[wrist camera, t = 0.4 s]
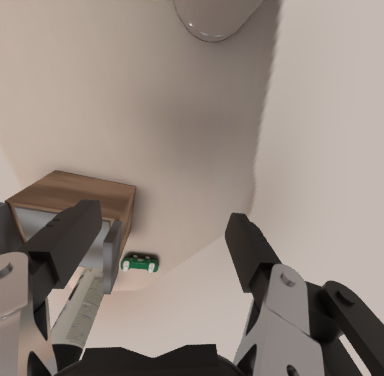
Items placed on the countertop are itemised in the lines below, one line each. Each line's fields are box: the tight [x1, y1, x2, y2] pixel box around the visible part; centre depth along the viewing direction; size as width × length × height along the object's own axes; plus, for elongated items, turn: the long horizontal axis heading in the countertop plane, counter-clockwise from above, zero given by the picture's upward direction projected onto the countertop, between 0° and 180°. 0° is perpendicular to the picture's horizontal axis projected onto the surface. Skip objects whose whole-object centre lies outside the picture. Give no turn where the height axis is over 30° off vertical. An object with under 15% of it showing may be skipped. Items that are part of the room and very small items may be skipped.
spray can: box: [51, 267, 104, 372], centre depth 32 cm, size 7×7×20 cm
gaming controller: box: [121, 255, 158, 273], centre depth 38 cm, size 9×4×6 cm
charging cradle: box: [0, 170, 135, 294], centre depth 25 cm, size 12×14×12 cm
